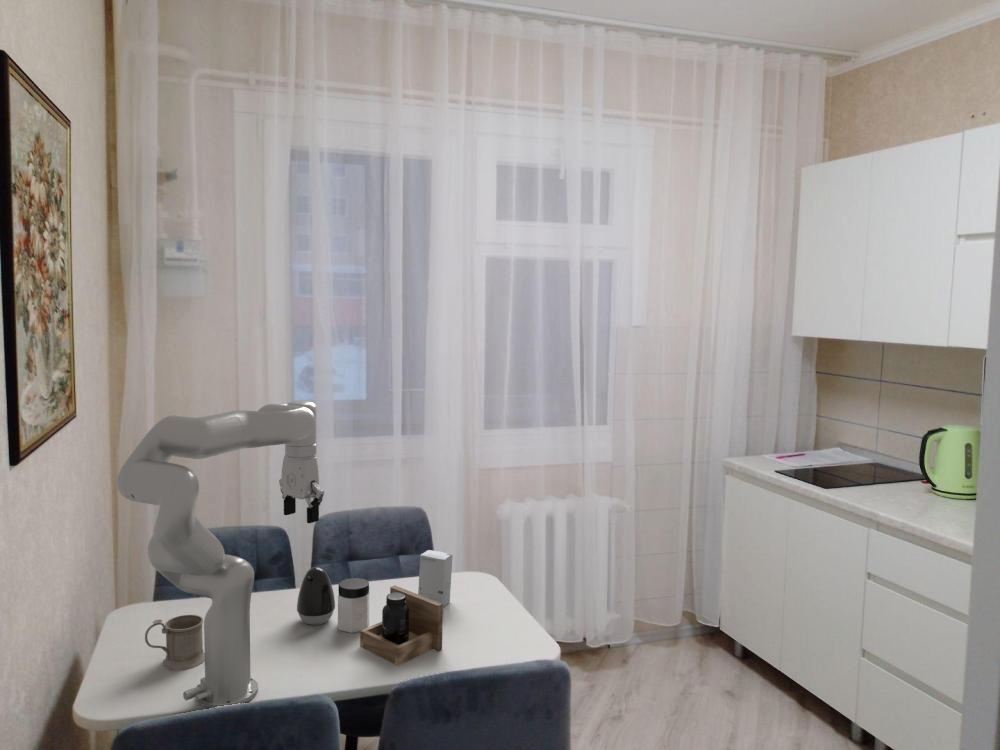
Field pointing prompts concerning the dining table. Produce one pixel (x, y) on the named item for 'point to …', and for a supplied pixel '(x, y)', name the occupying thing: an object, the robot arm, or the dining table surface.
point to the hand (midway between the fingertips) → (301, 518)
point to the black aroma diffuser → (316, 597)
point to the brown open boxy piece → (421, 631)
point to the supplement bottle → (395, 619)
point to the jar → (353, 605)
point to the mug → (181, 642)
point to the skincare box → (435, 576)
